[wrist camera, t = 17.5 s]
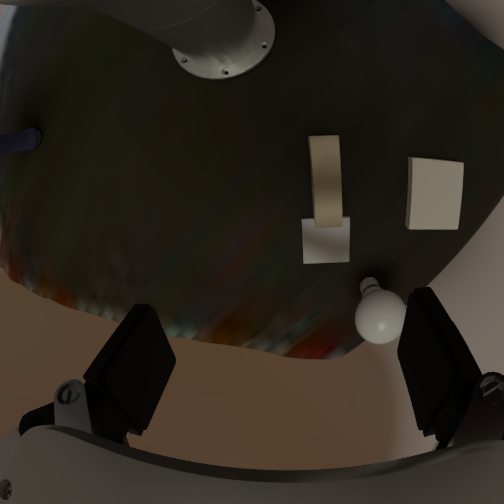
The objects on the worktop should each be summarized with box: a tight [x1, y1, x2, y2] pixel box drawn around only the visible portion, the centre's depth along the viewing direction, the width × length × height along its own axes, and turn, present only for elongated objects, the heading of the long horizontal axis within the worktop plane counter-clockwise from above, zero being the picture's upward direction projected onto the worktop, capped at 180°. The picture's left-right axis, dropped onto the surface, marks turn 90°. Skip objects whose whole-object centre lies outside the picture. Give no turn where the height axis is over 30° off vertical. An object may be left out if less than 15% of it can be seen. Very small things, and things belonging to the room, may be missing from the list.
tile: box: [405, 157, 463, 229], centre depth 29 cm, size 2×8×9 cm
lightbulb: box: [355, 277, 406, 344], centre depth 31 cm, size 6×6×11 cm
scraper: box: [302, 135, 350, 264], centre depth 31 cm, size 16×6×4 cm, turn 7°
